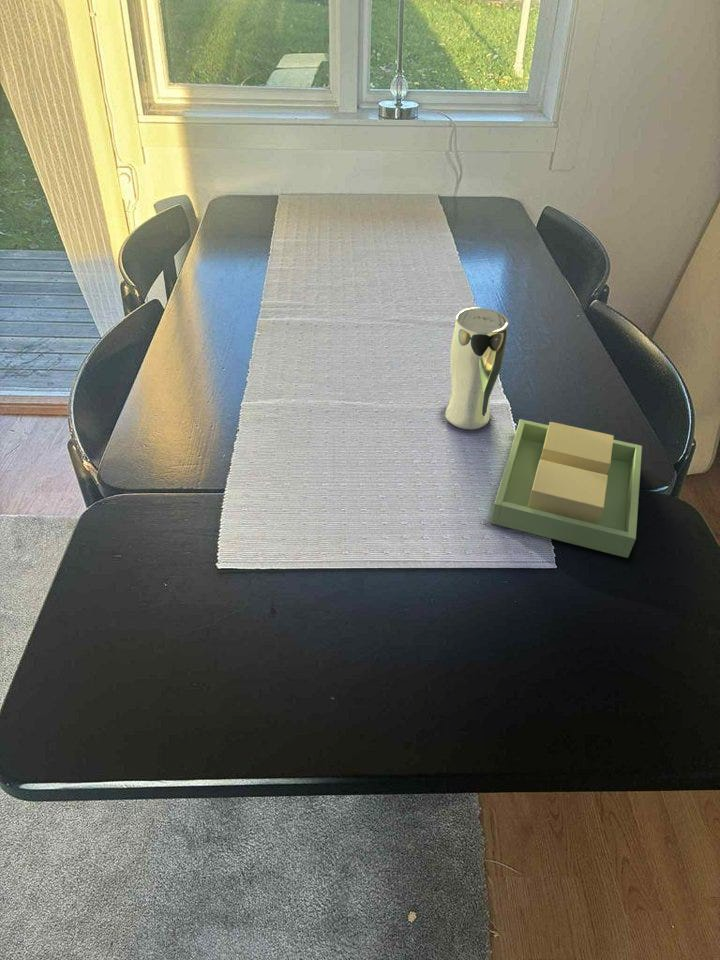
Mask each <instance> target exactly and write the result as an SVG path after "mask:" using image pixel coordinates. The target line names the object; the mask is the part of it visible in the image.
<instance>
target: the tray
mask: <svg viewBox="0 0 720 960" xmlns="http://www.w3.org/2000/svg"><path fill="white" fill-rule="evenodd" d="M548 427H549V424H544V423H541V422H540V423H539V422H534V421H531V420H525V419H522V418H520V419H519V420H518V424H517V427H516V431H515V434H514V437H513V441H512V444H511V447H510V451H509V454H508V457H507V460H506V463H505V466H504V467H505V468H504V470H503V474H502V477H501V480H500V484H499V487H498V490H497V494H496V497H495V501H494V504H493V507H492V508H493V509H492V513H491V519H490V524H493V525H496V526H501V527H504V528H509V529H512V530H516V531H520V532H523V533H528V534H533V535H535V536H540V537H544V538H547V539H551V540H555V541H559V542H563V543H566V544H567V543H568V544H571V545H575V546H578V547H583V548H587V549H590V550H595V551H598V552H602V553H606V554H610V555H613V556H617V557H622V558H626V559H628V558H629V557H630V554H631V552H632V549H633V547H634V545H635V542H636V540H637V527H638V515H639V514H638V512H639V497H640V483H641V469H642V456H643V455H642V454H643V445H640V444H635V443H631V442H628V441H627V442H626V441H622V440H618V439H613V447H612V456H611V464H610V467H609V470H608V473H607V475H608V481H607V488H606V496H605V504H604V509H603V512H602V515H601V518H600V521H599V523H598V525H596V524H592V523H588V522H584V521H580V520H576V519H572V518H568V517H564V516H560V515H556V514H552V513H548V512H544V511H540V510H536V509H532V508H528V504H529V500H530V496H531V492H532V488H533V484H534V480H535V476H536V472H537V468H538V464H539V461H540V459H541V454H542V450H543V446H544V442H545V438H546V435H547V431H548Z"/></svg>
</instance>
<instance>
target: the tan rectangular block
mask: <svg viewBox="0 0 720 960" xmlns="http://www.w3.org/2000/svg"><path fill="white" fill-rule="evenodd" d="M607 481H608V475H604V474H600V473H596V472H591V471H587V470H583V469H578V468H574V467H570V466H566V465H561V464H557V463H553V462H548V461H544V460H540V461H539V464H538V468H537V472H536V476H535V480H534V484H533V488H532V492H531V496H530V500H529V504H528V508H532V509H536V510H540V511H544V512H548V513H552V514H556V515H560V516H564V517H568V518H572V519H576V520H580V521H584V522H588V523H592V524H596V525H598V523H599V521H600V518H601V515H602V512H603V509H604V504H605V496H606V488H607Z"/></svg>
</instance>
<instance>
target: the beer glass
mask: <svg viewBox="0 0 720 960" xmlns="http://www.w3.org/2000/svg"><path fill="white" fill-rule="evenodd" d="M455 319H456V320H455V324H454V328H453V331H452V337H451V344H450V352H449V359H450V360H449V365H450V366H449V367H450V369H449V370H450V384H451V389H450V390H451V391H450V398H449V401H448V404H447V407H446V409H445V414H444V416H445V419H446V420H447V421H448V423H450V424H451V425H453V426H454V427H456V428H459V429H462V430H478V429H481V428H483V427H485V426H487V425H488V423H489V421H490V401H491V396H492V393H493V389H494V387H495V384H496V382H497V380H498V377H499V375H500V372H501V369H502V366H503V363H504V359H505V354H506V349H507V342H508V332H509V331H508V330H509V324H510V322H509V319H508V317H507V316H506V315H504V314H503V313H502V312H500V311H498V310H494V309H492V308H486V307H470V308H465V309H463V310H461V311H459V313H458V314H457V315H456V318H455Z"/></svg>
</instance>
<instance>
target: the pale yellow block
mask: <svg viewBox="0 0 720 960" xmlns="http://www.w3.org/2000/svg"><path fill="white" fill-rule="evenodd" d="M548 425H549V427H548V431H547V435H546V438H545V442H544V446H543V450H542V454H541V459H540V460H544V461H548V462H553V463H557V464H561V465H566V466H570V467H574V468H578V469H583V470H587V471H591V472H596V473H600V474H604V475H607V473H608V470H609V467H610V464H611V456H612V447H613V440H615V439H614V438H615V435H613V434H608V433H604V432H599V431H595V430H590V429H586V428H580V427H576V426H572V425H567V424H563V423H558V422H553V421H549V423H548Z"/></svg>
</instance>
